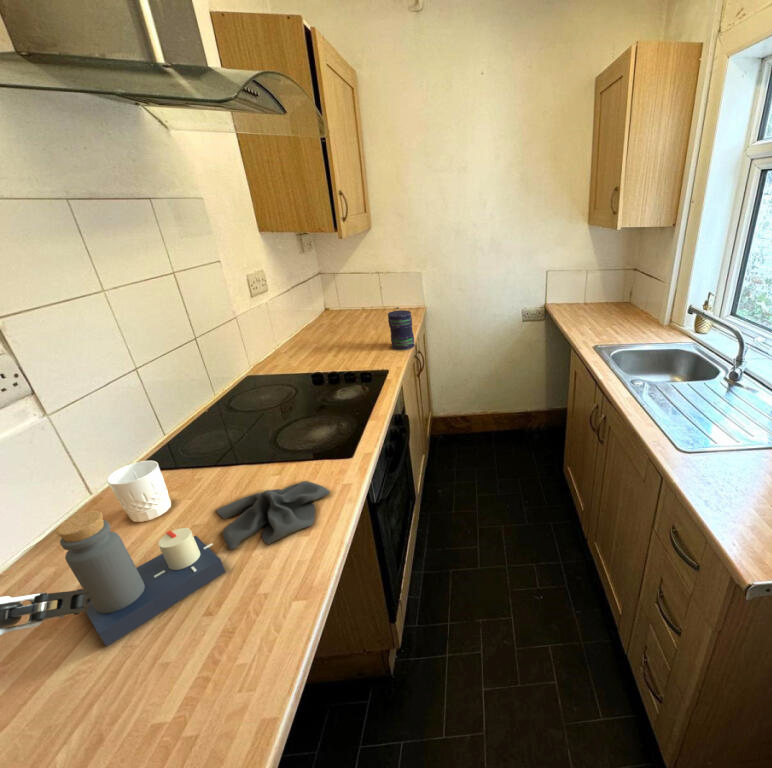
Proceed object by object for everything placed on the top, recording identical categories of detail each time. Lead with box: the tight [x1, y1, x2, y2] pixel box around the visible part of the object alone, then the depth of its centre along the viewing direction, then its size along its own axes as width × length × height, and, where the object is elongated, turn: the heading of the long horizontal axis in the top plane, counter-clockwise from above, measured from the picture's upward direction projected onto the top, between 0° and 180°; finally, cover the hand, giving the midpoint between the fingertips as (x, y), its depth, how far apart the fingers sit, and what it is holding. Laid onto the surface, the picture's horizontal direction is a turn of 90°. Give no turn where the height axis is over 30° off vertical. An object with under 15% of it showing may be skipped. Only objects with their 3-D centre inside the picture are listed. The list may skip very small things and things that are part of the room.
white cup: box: [106, 460, 172, 523], centre depth 85 cm, size 8×8×10 cm
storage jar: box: [387, 306, 415, 351], centre depth 179 cm, size 10×10×18 cm
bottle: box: [55, 510, 145, 614], centre depth 61 cm, size 6×6×15 cm
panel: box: [85, 535, 226, 647], centre depth 69 cm, size 17×10×3 cm, turn 145°
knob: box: [157, 527, 200, 570], centre depth 70 cm, size 4×4×5 cm
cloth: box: [216, 480, 331, 551], centre depth 84 cm, size 22×19×6 cm
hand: (45, 611), depth 51 cm, fingers open, 8 cm apart
